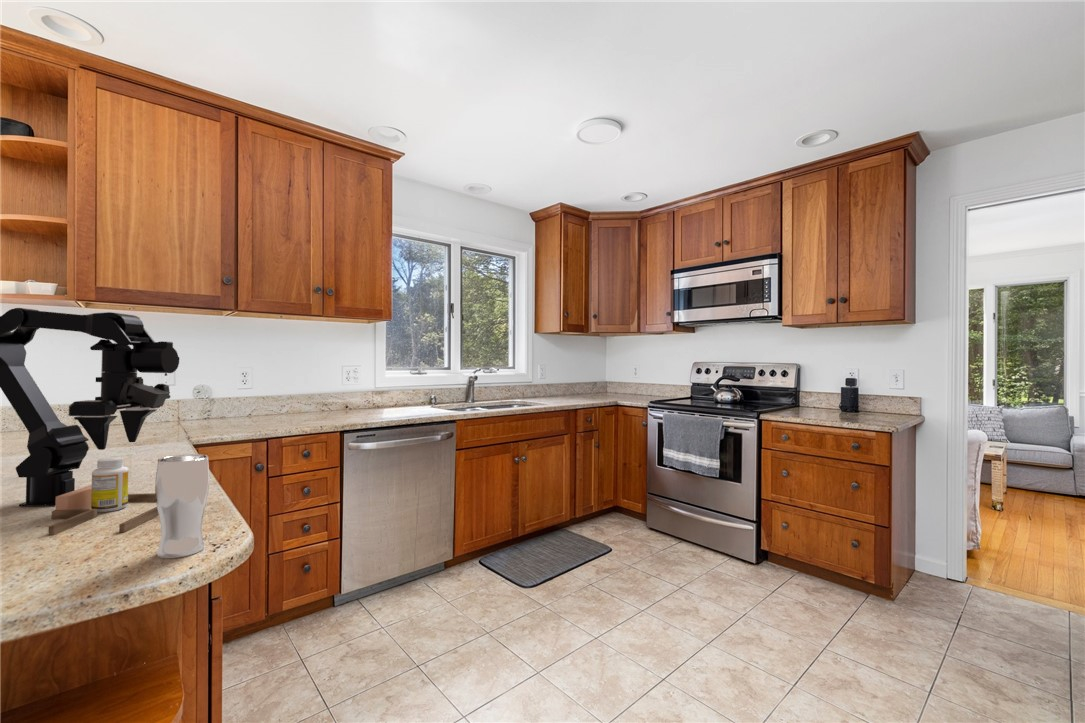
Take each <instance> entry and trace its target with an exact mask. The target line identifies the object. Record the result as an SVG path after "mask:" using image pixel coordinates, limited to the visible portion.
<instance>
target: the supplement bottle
mask: <svg viewBox="0 0 1085 723" xmlns="http://www.w3.org/2000/svg"><path fill="white" fill-rule="evenodd" d="M124 464H125V462H124V457H123V456H113V457H112V456H110V457H103V458H98V460H97V464H96V466H97V467H96V469H93V471H91V485H92V493H91V508H90V509H97V513H109V512H110V513H111V512H114V511H115V512H116V511H118V510H122V509H124V508H126V507H127V506H128V505H129V504H128V503H129V502H128V494H129V467H127V466H125V465H124Z"/></svg>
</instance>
